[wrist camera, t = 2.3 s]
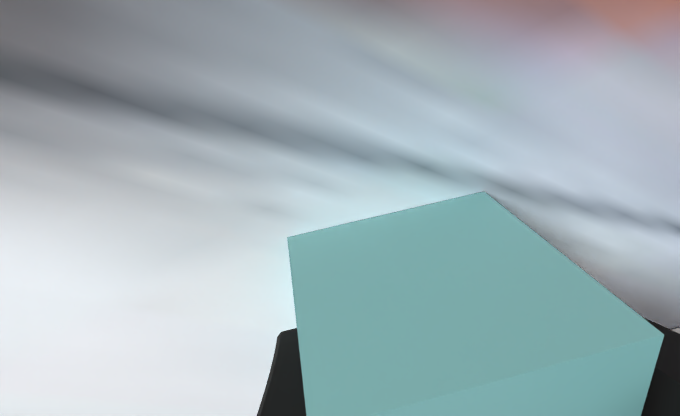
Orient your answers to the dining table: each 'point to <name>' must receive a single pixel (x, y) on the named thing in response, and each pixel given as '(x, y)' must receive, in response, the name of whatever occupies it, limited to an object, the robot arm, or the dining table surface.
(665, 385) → the robot arm
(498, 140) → the dining table surface
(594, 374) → the teal block
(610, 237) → the dining table surface
